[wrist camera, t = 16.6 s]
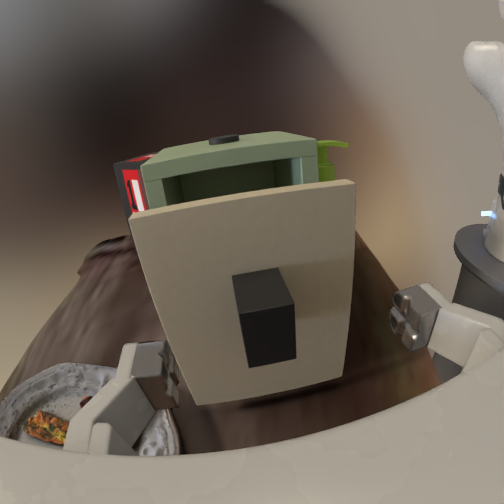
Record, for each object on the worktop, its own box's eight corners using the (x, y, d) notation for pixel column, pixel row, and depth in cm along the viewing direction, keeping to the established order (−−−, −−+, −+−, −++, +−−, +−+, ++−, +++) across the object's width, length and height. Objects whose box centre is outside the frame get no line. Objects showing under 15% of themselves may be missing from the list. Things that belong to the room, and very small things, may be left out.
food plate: (203, 383, 29) (195, 362, 27) (168, 592, 8) (149, 593, 7) (40, 365, 31) (28, 347, 29) (-25, 491, 10) (-46, 476, 9)
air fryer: (320, 335, 33) (316, 132, 23) (194, 359, 32) (138, 158, 22) (290, 276, 46) (278, 126, 36) (195, 293, 45) (162, 144, 35)
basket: (357, 408, 22) (391, 201, 13) (198, 442, 20) (108, 248, 12) (303, 299, 37) (295, 154, 29) (196, 319, 36) (160, 175, 28)
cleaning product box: (212, 255, 56) (192, 149, 47) (173, 275, 50) (145, 162, 41) (169, 237, 67) (150, 152, 58) (136, 252, 61) (113, 164, 52)
